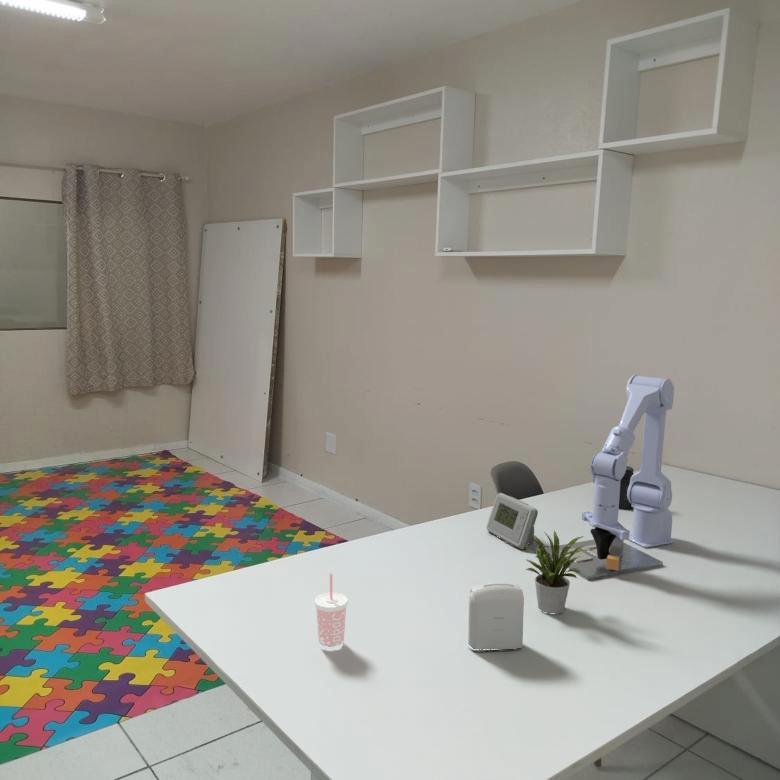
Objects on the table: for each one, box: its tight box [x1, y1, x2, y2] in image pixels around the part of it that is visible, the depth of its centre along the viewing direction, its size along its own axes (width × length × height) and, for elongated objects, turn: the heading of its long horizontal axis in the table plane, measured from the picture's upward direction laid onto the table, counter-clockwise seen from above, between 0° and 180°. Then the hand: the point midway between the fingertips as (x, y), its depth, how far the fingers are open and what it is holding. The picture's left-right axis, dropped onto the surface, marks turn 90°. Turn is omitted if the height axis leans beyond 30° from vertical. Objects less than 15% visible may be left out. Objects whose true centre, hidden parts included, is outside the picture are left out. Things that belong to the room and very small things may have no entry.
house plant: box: [521, 530, 591, 615], centre depth 146 cm, size 14×14×16 cm
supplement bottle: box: [619, 465, 635, 510], centre depth 213 cm, size 7×7×12 cm
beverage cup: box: [314, 573, 348, 647], centre depth 131 cm, size 6×6×14 cm
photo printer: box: [467, 582, 525, 650], centre depth 131 cm, size 10×4×12 cm, turn 96°
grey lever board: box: [545, 536, 664, 581], centre depth 174 cm, size 22×18×5 cm
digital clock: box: [486, 492, 539, 550], centre depth 186 cm, size 16×9×11 cm, turn 16°
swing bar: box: [606, 538, 624, 570], centre depth 170 cm, size 14×3×3 cm, turn 158°
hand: (602, 558), depth 169 cm, fingers closed
